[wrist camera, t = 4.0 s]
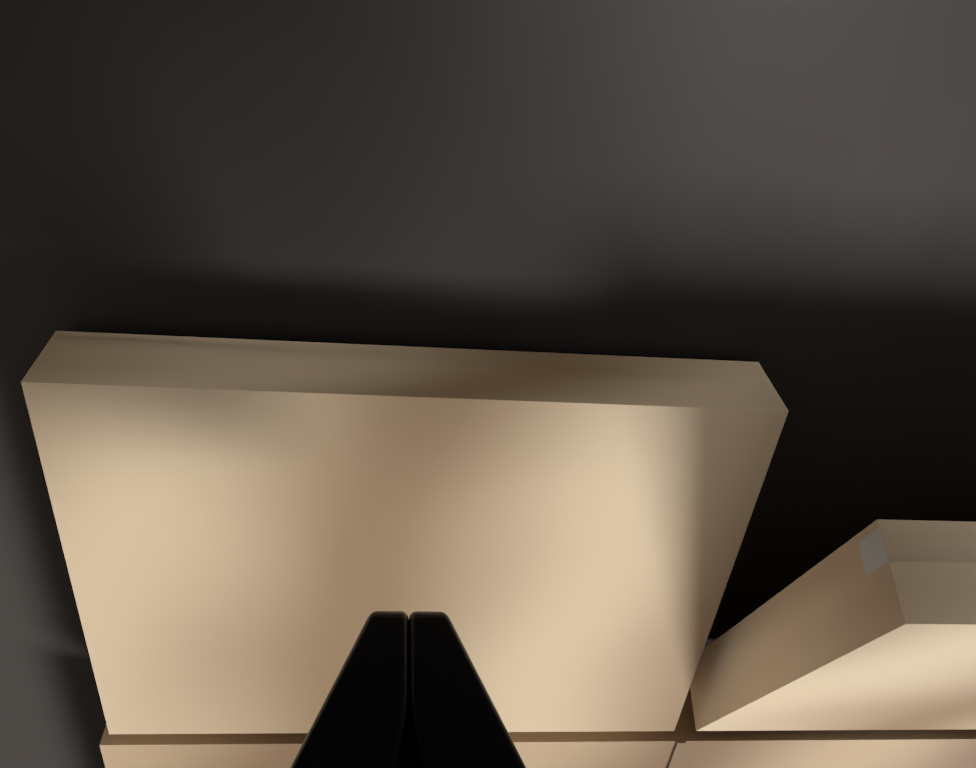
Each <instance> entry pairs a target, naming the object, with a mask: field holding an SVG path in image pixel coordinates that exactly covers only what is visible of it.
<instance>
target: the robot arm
mask: <svg viewBox="0 0 976 768" xmlns="http://www.w3.org/2000/svg"><path fill="white" fill-rule="evenodd" d="M290 768H526V766H525V764H524V762H523V760H522V759H521V757H520V755H519V753H518V751H517V749H516V747H515V745H514V743H513V741H512V739H511V737H510V735H509V733H508V731H507V729H506V727H505V725H504V723H503V721H502V719H501V718H500V716H499V714H498V712H497V710H496V708H495V706H494V704H493V702H492V700H491V698H490V696H489V694H488V692H487V690H486V688H485V686H484V684H483V682H482V680H481V678H480V676H479V675H478V673H477V671H476V669H475V667H474V665H473V663H472V661H471V659H470V657H469V655H468V653H467V651H466V649H465V647H464V645H463V643H462V641H461V639H460V637H459V635H458V633H457V632H456V630H455V628H454V626H453V624H452V622H451V620H450V618H449V617H448V616H447V614H446V613H444V612H434V611H415V612H413V613H411V614H410V616H409V620H408V615H407V614H406V613H405V612H403V611H374V612H372V613H371V614H370V615H369V617H368V618H367V620H366V622H365V624H364V626H363V628H362V630H361V631H360V633H359V635H358V637H357V639H356V641H355V643H354V645H353V647H352V649H351V651H350V653H349V655H348V657H347V659H346V660H345V662H344V664H343V666H342V668H341V670H340V672H339V674H338V676H337V678H336V680H335V682H334V684H333V686H332V688H331V689H330V691H329V693H328V695H327V697H326V699H325V701H324V703H323V705H322V707H321V709H320V711H319V713H318V715H317V717H316V718H315V720H314V722H313V724H312V726H311V728H310V730H309V732H308V734H307V736H306V738H305V740H304V742H303V744H302V746H301V747H300V749H299V751H298V753H297V755H296V757H295V759H294V761H293V763H292V765H291V767H290Z"/></svg>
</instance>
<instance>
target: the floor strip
mask: <svg viewBox="0 0 976 768" xmlns="http://www.w3.org/2000/svg"><path fill="white" fill-rule="evenodd" d="M508 733H509V735H510V737H511V739H512V741H513V743H514V745H515V747H516V749H517V751H518V753H519V755H520V757H521V759H522V760H523V762H524V764H525V766H526V768H976V729H968V730H790V731H696V728H695V720H694V713H693V706H692V699H691V692H690V688H689V691H688V694H687V697H686V699H685V702H684V705H683V708H682V711H681V713H680V716H679V719H678V722H677V725H676V727H675V730H674V731H612V732H508ZM307 734H308V733H256V734H109V732H108V728H107V724H106V727H105V730H104V733H103V736H102V739H101V742H100V745H99V746H100V750H101V753H102V757H103V761H104V765H105V768H290V767H291V765H292V763H293V761H294V759H295V757H296V755H297V753H298V751H299V749H300V747H301V746H302V744H303V742H304V740H305V738H306V736H307Z"/></svg>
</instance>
